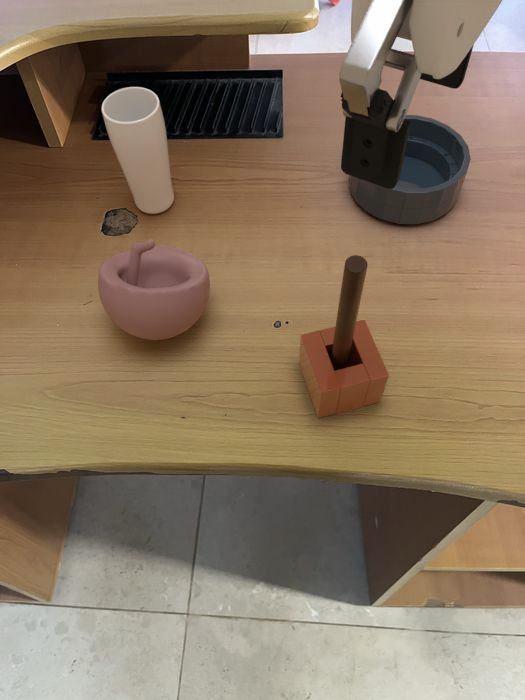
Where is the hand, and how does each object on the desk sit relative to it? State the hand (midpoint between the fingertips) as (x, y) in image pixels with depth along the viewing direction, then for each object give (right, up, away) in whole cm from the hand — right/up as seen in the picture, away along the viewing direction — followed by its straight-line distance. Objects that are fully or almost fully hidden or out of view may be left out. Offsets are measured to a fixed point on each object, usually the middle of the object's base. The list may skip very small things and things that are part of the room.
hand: (404, 126), depth 33 cm
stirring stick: (0, -16, +29) cm, 34 cm away
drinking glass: (-23, +7, +44) cm, 50 cm away
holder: (0, -17, +29) cm, 34 cm away
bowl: (+11, +9, +44) cm, 47 cm away
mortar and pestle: (-20, -9, +35) cm, 41 cm away
